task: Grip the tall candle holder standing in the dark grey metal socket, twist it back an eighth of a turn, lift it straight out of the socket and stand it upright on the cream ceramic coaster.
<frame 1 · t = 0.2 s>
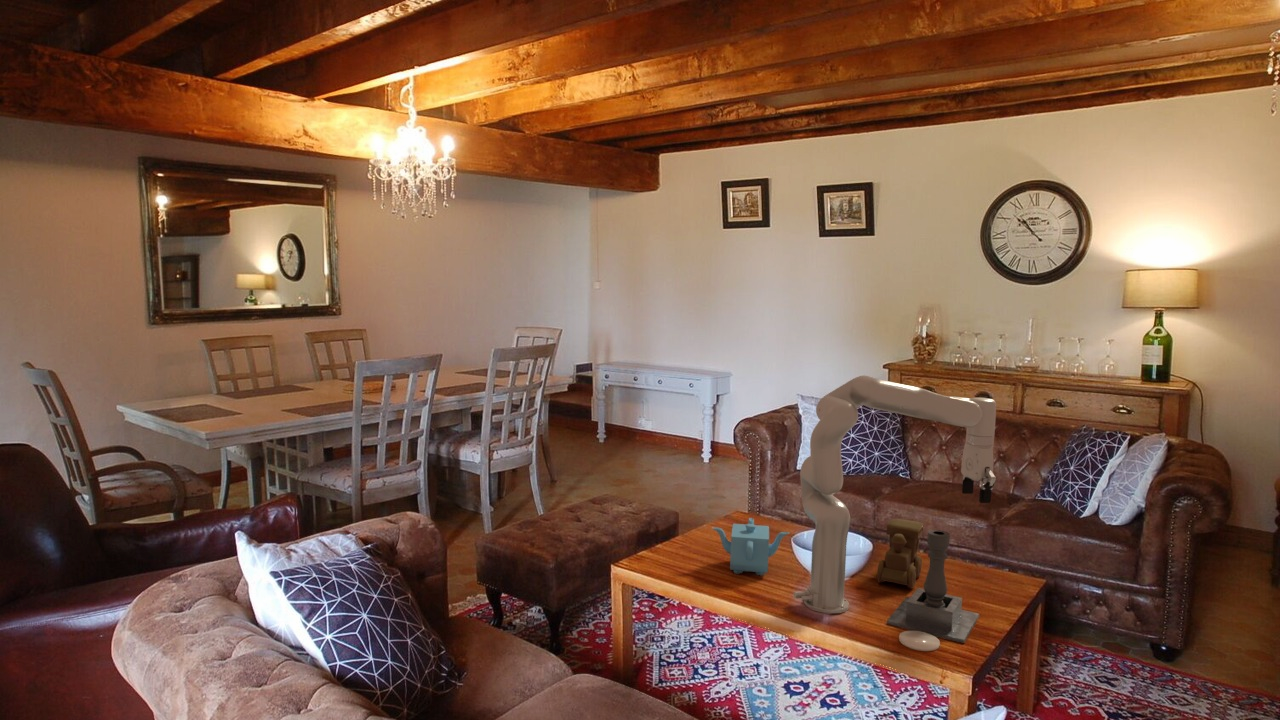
hand: (975, 497, 230), 31 cm above the table, tool pointing down, fingers open, 9 cm apart
socket: (933, 620, 219), on the table
teakettle: (749, 568, 256), on the table
candle holder: (933, 621, 219), resting in socket
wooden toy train: (899, 579, 249), on the table
coaster: (919, 642, 205), on the table
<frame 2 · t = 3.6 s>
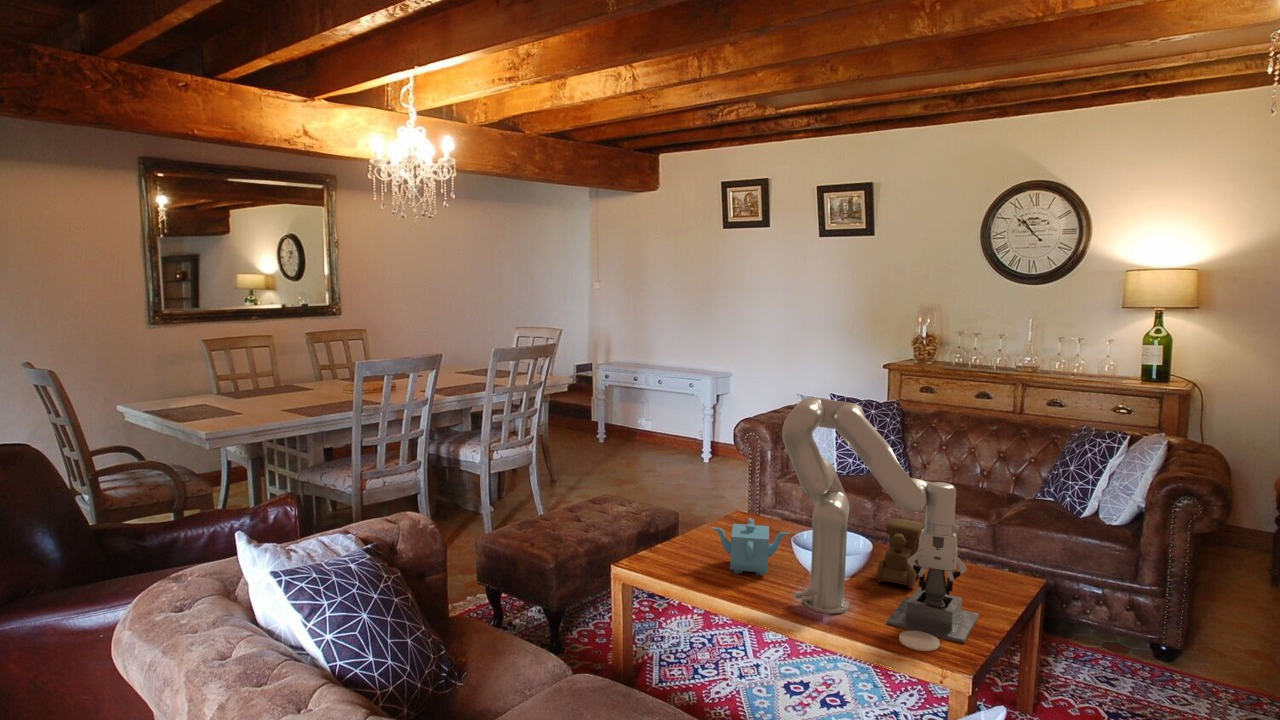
hand: (935, 590, 218), 9 cm above the table, tool pointing down, fingers closed on candle holder, 6 cm apart
candle holder: (933, 621, 219), resting in socket, touching gripper
everything else where it was.
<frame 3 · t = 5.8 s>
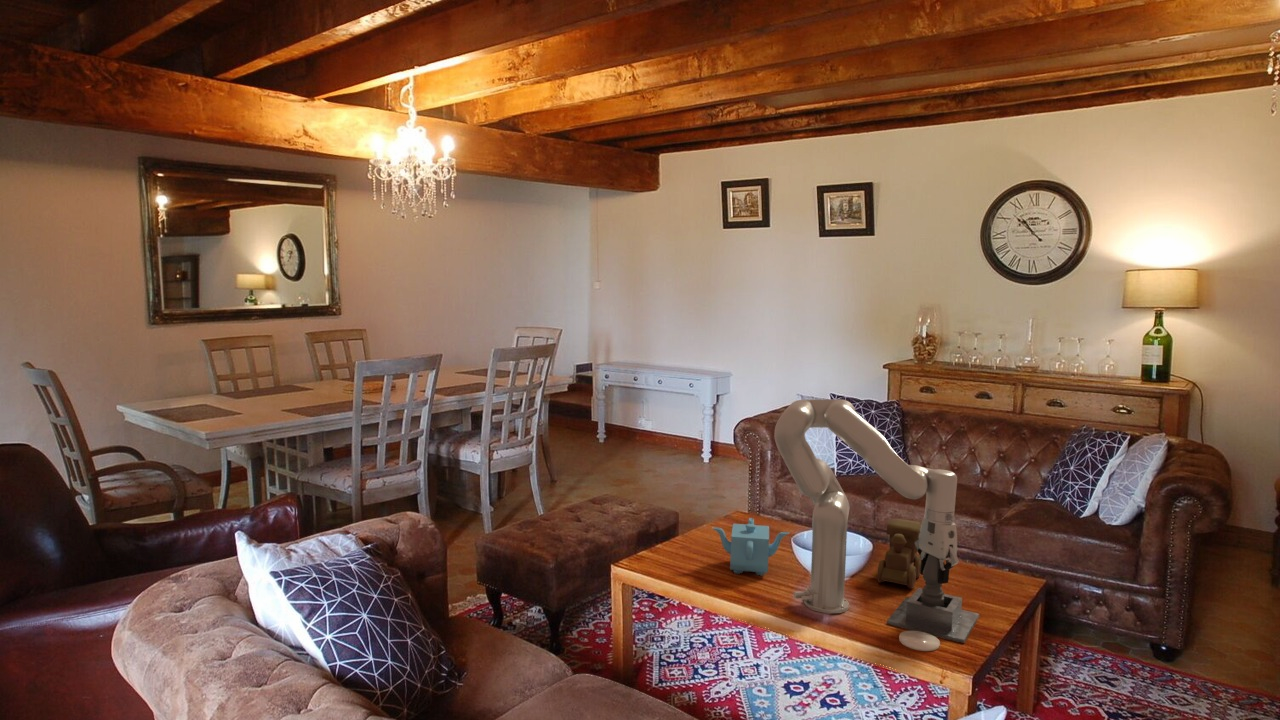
hand: (934, 577, 218), 12 cm above the table, tool pointing down, fingers closed on candle holder, 5 cm apart
candle holder: (931, 608, 219), point 3 cm above the table, touching gripper
everything else where it was.
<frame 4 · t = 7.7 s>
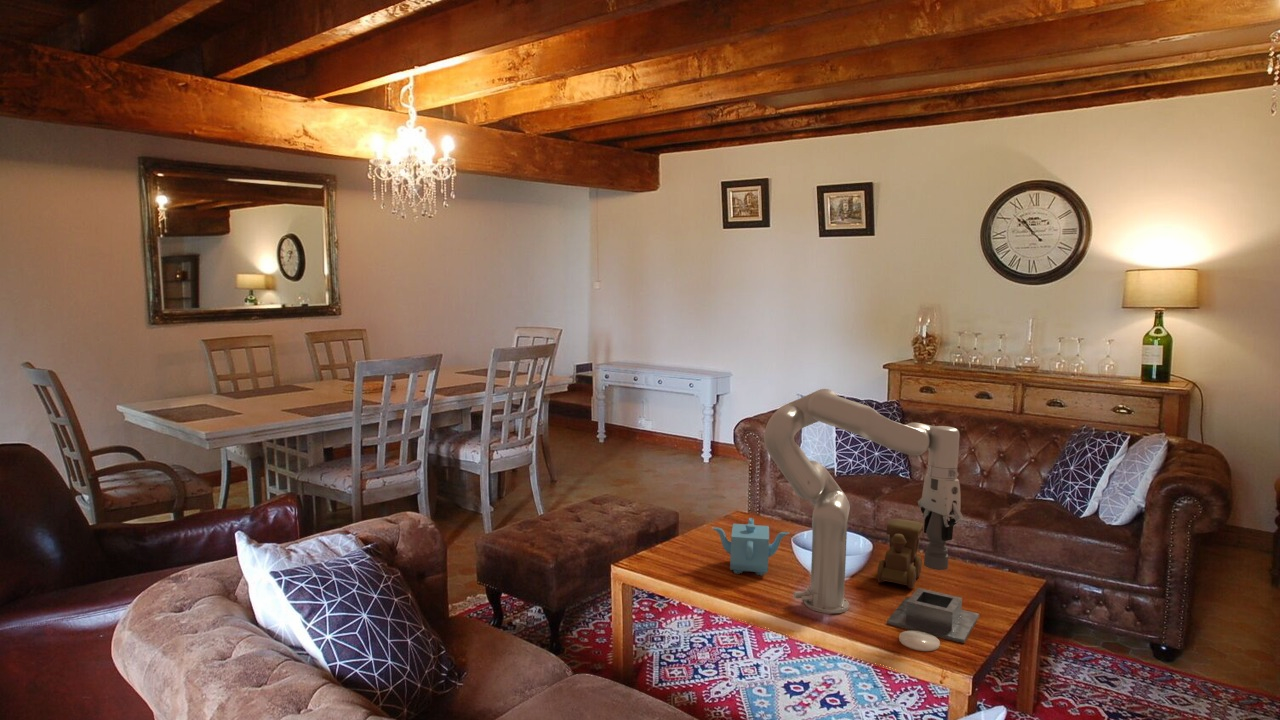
hand: (937, 535, 216), 24 cm above the table, tool pointing down, fingers closed on candle holder, 5 cm apart
candle holder: (935, 566, 217), point 16 cm above the table, touching gripper
everything else where it was.
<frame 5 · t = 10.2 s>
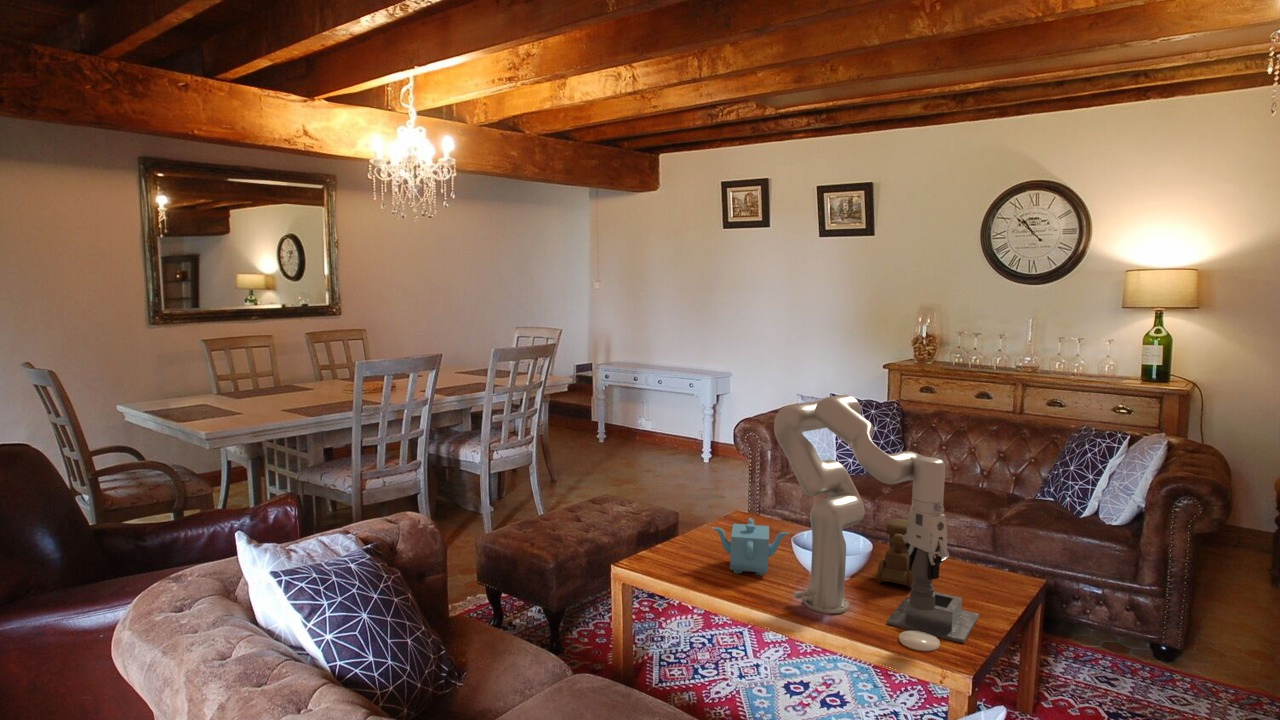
hand: (923, 573, 203), 19 cm above the table, tool pointing down, fingers closed on candle holder, 5 cm apart
candle holder: (921, 606, 204), point 10 cm above the table, touching gripper
everything else where it was.
when the fingers open (10 cm above the table, at t = 12.1 s): candle holder stays where it is, resting on coaster.
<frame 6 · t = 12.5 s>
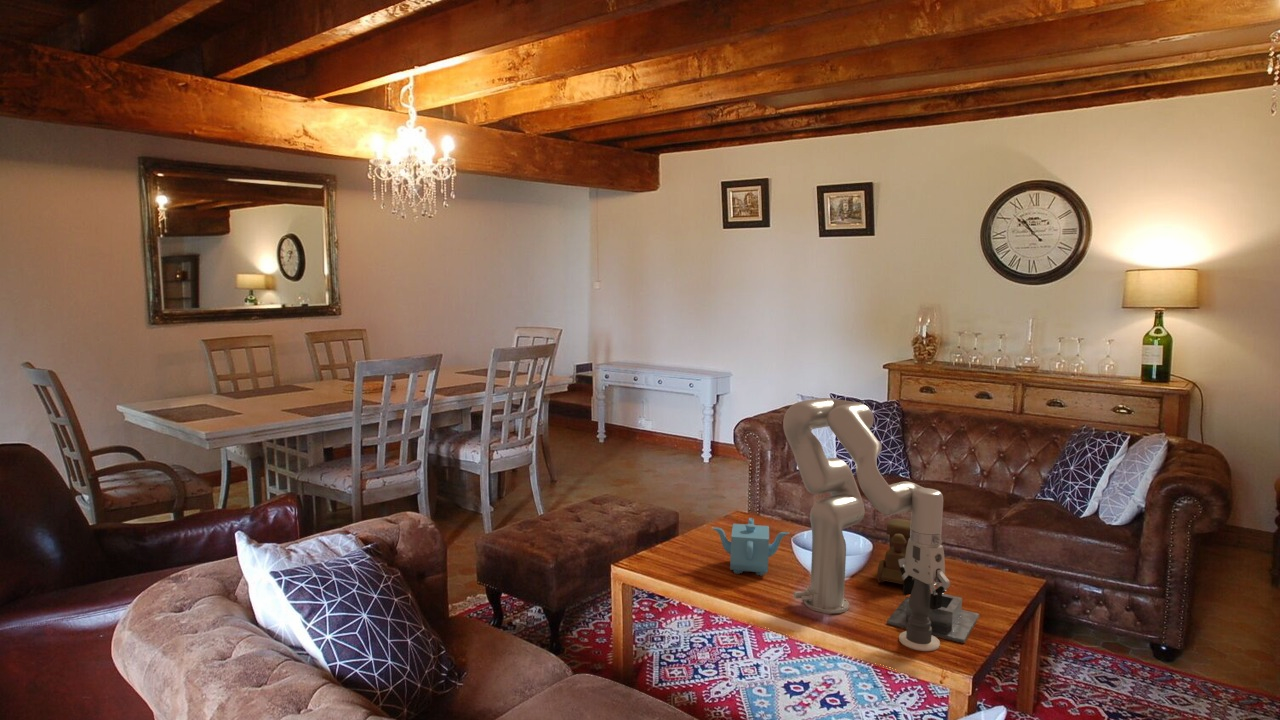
hand: (921, 601, 204), 11 cm above the table, tool pointing down, fingers open, 9 cm apart
candle holder: (918, 639, 205), point 1 cm above the table, touching coaster
everything else where it was.
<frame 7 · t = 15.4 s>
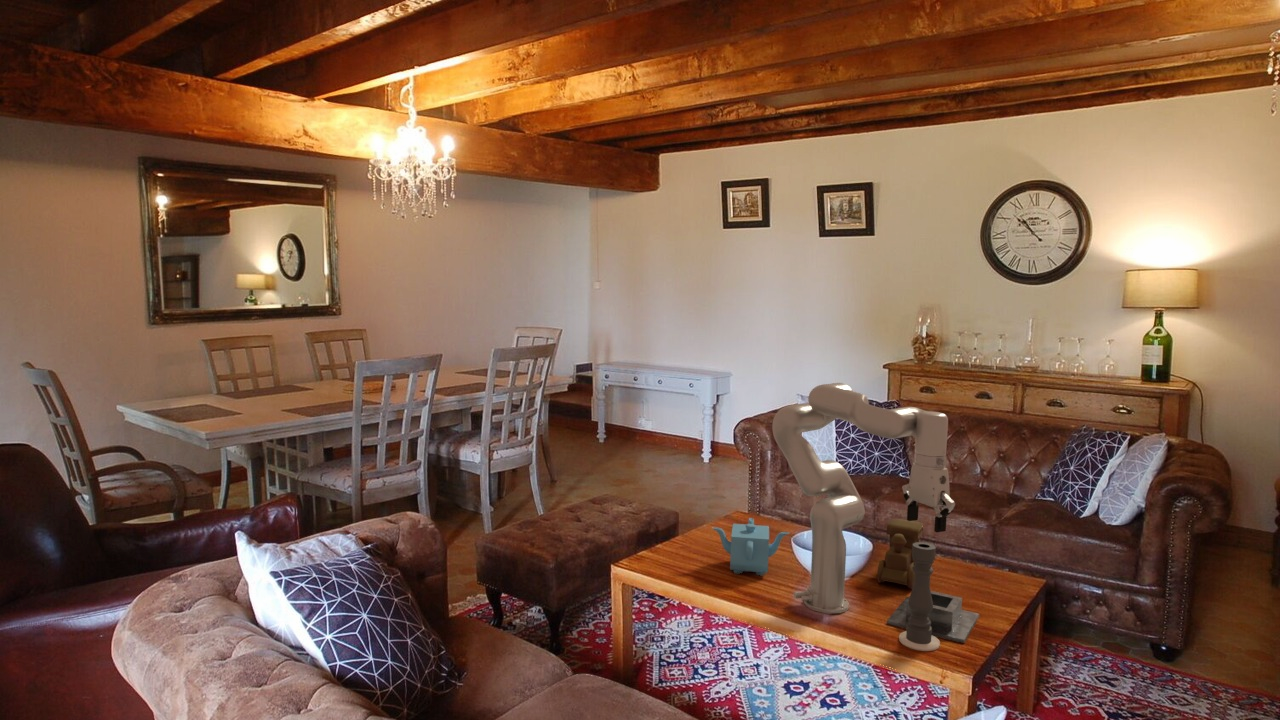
hand: (925, 525, 202), 31 cm above the table, tool pointing down, fingers open, 9 cm apart
nothing on the table moved.
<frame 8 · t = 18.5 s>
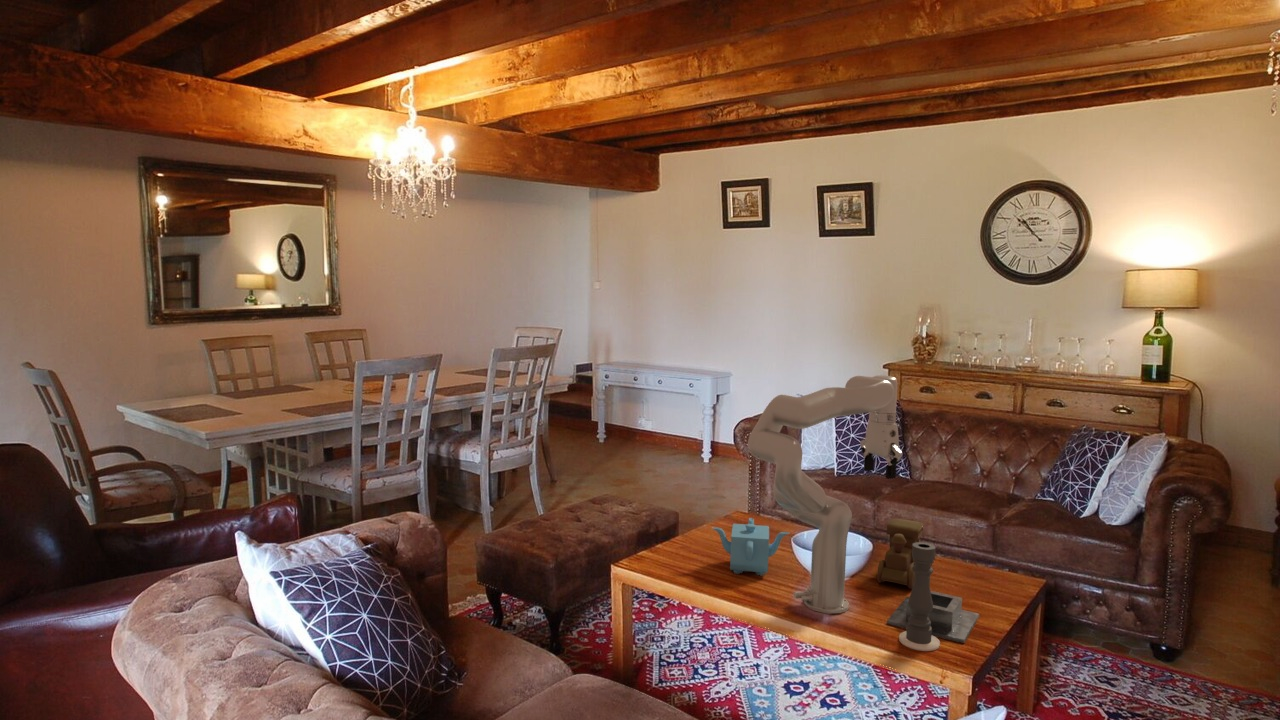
hand: (879, 474, 234), 36 cm above the table, tool pointing down, fingers open, 9 cm apart
nothing on the table moved.
at the end: candle holder 0.2 cm from the coaster (horizontally); candle holder tilted 0°; the gripper is holding nothing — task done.
